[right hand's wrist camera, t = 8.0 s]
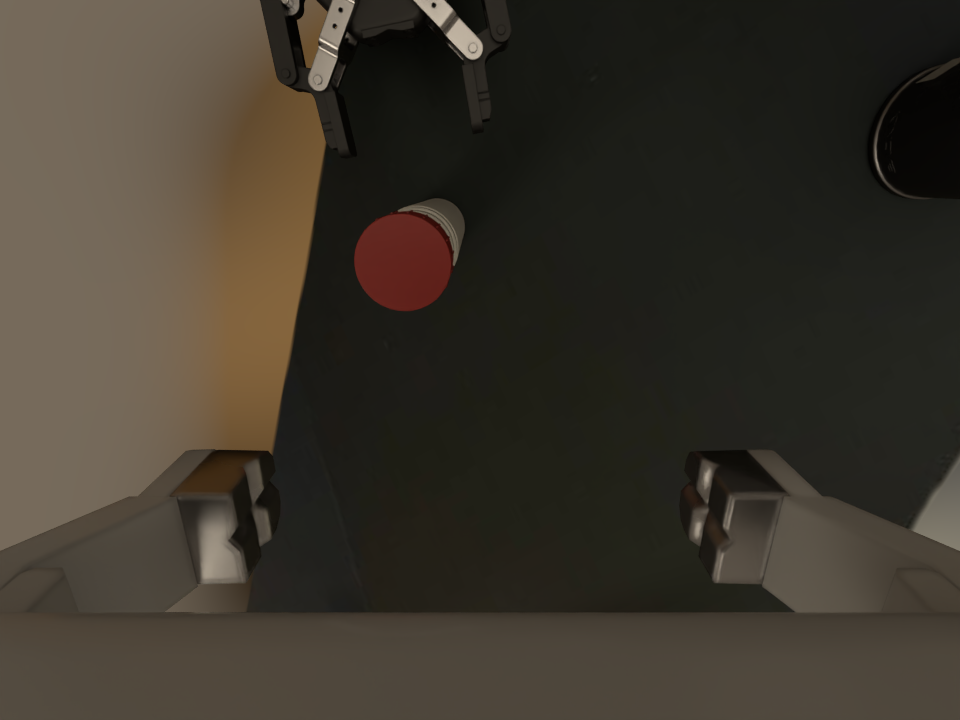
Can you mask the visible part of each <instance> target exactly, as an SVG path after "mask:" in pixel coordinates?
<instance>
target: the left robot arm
mask: <svg viewBox="0 0 960 720" xmlns="http://www.w3.org/2000/svg"><path fill="white" fill-rule="evenodd" d="M317 1H318V2H319V3H320V4H321V5H322V7H323V8H324V9H325V10H326V11H327V12H328V13H327V16H326V19H325V22H324V25H323V27H322V30H321V33H320V36H319V42H318V43H319V47H318V50H317V53H316V56H315V59H314V62H313V64H312V67H311V69H310V68H306V65H305V60H304V55H303V50H302V45H301V40H300V35H299V30H298V25H297V20H298V19H300V18H301V17H302V16H303V14H304V2H305V0H260V2H261V7H262V11H263V16H264V20H265V25H266V30H267V34H268V39H269V43H270V48H271V52H272V57H273V62H274V66H275V71H276V75H277V78H278V80H279V81H280V82H281V83H282V84H284V85H286V86H288V87H290V88H292V89H294V90H296V91H298V92H307V93H311V94H312V95H313V96H314V98H315V101H316V105H317V109H318V112H319V117H320V120H321V124H322V128H323V131H324V136H325V140H326V142H327V144H328V145H329V147H330V148H331V149H333V150H338V152H339V155H340V157H342V158H351V157H356V156H357V152H356V147H355V143H354V139H353V135H352V131H351V127H350V122H349V118H348V114H347V110H346V106H345V101H344V97H343V96H342V95H340V94H339V93H338V90H339V87H340V85H341V82H342V80H343V77H344V74H345V72H346V69H347V67H348V65H350V63H351V62H352V60H353V57H354V55H355V52H356V49H357V47H358V44H359V42H360V43H363V44H368V45H369V46H370V47H372V46H377V45H382V44H384V43H386V42H387V41H389V40H391V39H393V38H397V39H411V38H416V37H418V34H419V33H420V32H422V31H423V30H424V29H425V28H426V26H427V27H428V28H429V29H430V30H431V31H432V32H433V33H434V34H435V35H436V36H437V37H438V38H439V39H440V40H441V41H442V42H443V43H444V44H445V45H447V46H448V47H449V48H450V49H451V50H452V51H453V52H454V53H455V54H456V55H457V56H458V57H459V58H460V59H461V60H462V61H463V62H464V65H462V72H463V78H464V84H465V90H466V96H467V102H468V108H469V114H470V119H471V125H472V131H473V134H477V133H482V132H483V123H482V122H486V121H489V120H490V114H491V102H490V96H489V90H488V83H487V77H486V71H485V64H486V62H487V60H488V59H489V58H490V57H492V56H493V55H495V54H496V53H498V52H502V51H504V50H505V49H506V48H507V47H508V44H509V38H510V35H511V24H510V19H509V14H508V9H507V4H506V0H481V2H482V6H483V11H484V16H485V21H486V26H487V28H486V29H485V30H483V31H482V32H480V33H479V34H477V35H475V34H474V33H473V32H472V31H471V30H470V29H469V28H468V27H467V26H466V25H465V24H464V22H463V21H462V20H461V19H460V18H459V17H458V15H457V14H456V12H455V11H454V10H453V9H452V7H451V6H450V5H449V4H448V3H447V2H446V1H445V0H317ZM336 26H337V28H335V27H336ZM347 40H349V41H348V42H347ZM869 161H870V165H871V168H872V171H873V173H874V176H875V177H876V179H877V180H878V182H879V183H880V184H881V185H882V186H883V187H884V188H885V189H886V190H887V191H889V192H891V193H892V194H894V195H897V196H900V197H903V198H908V199H930V198H947V199H960V58H957V59H953V60H951V61H950V62H948V63H946V64H942V65H938V66H934V67H931V68H928V69H925V70H923V71H921V72H919V73H917V74H915V75H913V76H912V77H910V78H909V79H907V80H906V81H905V82H903V83H902V84H901V85H900V86H899V87H898V88H897V89H896V90H895V91H894V92H893V93H892V94H891V95H890V96H889V97H888V99H887V100H886V101H885V103H884V104H883V106H882V107H881V109H880V111H879V113H878V115H877V117H876V119H875V121H874V124H873V127H872V130H871V134H870V139H869Z"/></svg>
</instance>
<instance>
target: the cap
mask: <svg viewBox="0 0 960 720" xmlns="http://www.w3.org/2000/svg"><path fill="white" fill-rule="evenodd" d="M375 220H376V221H375V222H373V223H372V224H371V225H369V226H368V227H367V228H366V229H365V230H364V232H363V233H362V235H361V236H360V238H359V241H358V243H357V246H356V249H355V256H354V263H355V270H356V275H357V277H358V280H359V282H360V284H361V286H362V287H363V289H364V290H365V292H366V293H367V294H368V295H369V296H370V297H371V298H372V299H373V300H375V301H376V302H377V303H379V304H381V305H383V306H384V307H387V308H390V309H393V310H398V311H412V310H417V309H420V308H423V307H425V306H427V305H429V304H431V303H432V302H433V301H435V300H436V299H438V297H439V296H440V295H441V293H442V292H443V291H444V289H445V287H446V288H447V286H448V282H449V278H450V274H451V273H452V272H453V268H454V265H453V254H454V250H453V249H452V245H451V242H450V239H449V238H450V236H448V235H447V234H446V232H445V230H444V229H443V228H442V227H441V226H440V225H441V224H440V223H439V224H438V223H437V222H436V221H435V220H433V219H432V218H430V217H428V215H427V214H426V215H424V214H422V213H418V212H413V210H410V211H401V212H398V211H395V212H392V213H390V215H387V216H383V217H380V218H377V219H375Z"/></svg>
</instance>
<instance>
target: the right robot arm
mask: <svg viewBox="0 0 960 720" xmlns="http://www.w3.org/2000/svg"><path fill="white" fill-rule="evenodd" d="M275 471H276V470H275V465H274V460H273V456H272V455H271V454H270V453H269V451H248V450H215V449H211V450H189V451H185V452H184V453H183V454H182V455H181V456H180V457H179V458H178V459H177V460H176V461H175V462H174V463H173V464H172V465H171V466H170V467H169V468H168V469H166V470H165V471H164V472H163V473H162V474H161V475H160V476H159V477H158V478H157V479H156V480H155V481H154V482H153V483H152V484H150V485H149V486H148V487H147V488H146V489H145V490H144V491H143V492H142V493H141V494H140V495H139V496H138V497H127V498H125V499H122V500H120V501H118V502H115V503H113V504H110V505H108V506H106V507H103V508H101V509H99V510H96V511H94V512H92V513H89V514H87V515H84V516H82V517H80V518H77V519H75V520H73V521H70V522H68V523H66V524H63V525H61V526H58V527H56V528H54V529H51V530H49V531H47V532H44V533H42V534H39V535H37V536H35V537H32V538H30V539H28V540H25V541H23V542H21V543H18V544H16V545H13V546H11V547H9V548H6V549H4V550H2V551H0V720H960V551H958V550H956V549H953V548H951V547H949V546H946V545H944V544H942V543H939V542H937V541H934V540H932V539H930V538H927V537H925V536H923V535H920V534H918V533H916V532H913V531H911V530H909V529H906V528H904V527H901V526H899V525H897V524H894V523H892V522H890V521H887V520H885V519H883V518H880V517H878V516H876V515H873V514H871V513H868V512H866V511H864V510H861V509H859V508H857V507H854V506H852V505H850V504H847V503H845V502H842V501H840V500H838V499H835V498H833V497H822V496H821V495H820V494H819V493H818V492H817V491H816V490H815V489H814V488H813V487H812V486H811V485H810V484H809V483H807V482H806V481H805V480H804V479H803V478H802V477H801V476H800V475H799V474H798V473H797V472H796V471H795V470H794V469H793V468H792V467H791V466H789V465H788V464H787V463H786V462H785V461H784V460H783V459H782V458H781V457H780V456H779V455H778V454H777V453H776V452H774V451H771V450H768V449H762V450H726V451H694V452H690V453H689V455H688V457H687V459H686V465H685V470H684V471H685V473H686V474H687V476H688V477H689V479H690V480H691V481H690V482H689V483H688V484H687V485H686V486H685V487H684V488H683V489H682V490H681V497H680V505H679V507H680V517H681V522H682V525H683V528H684V531H685V533H686V535H687V536H688V538H689V540H691V541H693V542H694V543H696V544H697V545H699V546H700V551H699V558H700V559H701V561H702V563H703V565H704V566H705V568H706V570H707V572H708V573H709V575H710V577H711V579H712V580H713V582H714V583H740V584H763V585H762V587H764V588H765V589H766V590H768V591H769V592H770V593H772V594H773V595H774V596H776V597H777V598H778V599H779V600H781V601H782V602H783V603H785V604H786V605H787V606H789V607H790V608H791V609H793V610H794V611H795V612H165V611H166V610H168V609H169V608H170V607H172V606H173V605H174V604H175V603H177V602H178V601H179V600H181V599H182V598H183V597H185V596H186V595H187V594H188V593H190V592H191V591H192V590H194V589H195V588H196V587H197V586H198V585H197V584H219V583H246V582H247V580H248V579H249V577H250V575H251V573H252V572H253V570H254V568H255V566H256V565H257V563H258V561H259V559H260V558H261V551H260V546H261V545H263V544H264V543H266V542H267V541H269V540H271V538H272V536H273V534H274V533H275V531H276V529H277V525H278V521H279V517H280V496H279V490H278V489H277V488H276V487H275V486H274V485H273V484H272V483H271V482H270V481H269V480H270V479H271V477H272V476H273V474H274V473H275Z"/></svg>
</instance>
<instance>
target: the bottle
mask: <svg viewBox="0 0 960 720" xmlns="http://www.w3.org/2000/svg"><path fill="white" fill-rule="evenodd" d="M410 210H413V212H418V213H422V214H424V215H426V214H427V215H428V217H430V218H432V219H433V220H435V221H436V222H437V223H438V224H439V223H440V224H441V225H440V226H441V227H442V228H443V229H444V230H445V232H446V234H447V235H448V236H450V238H449V239H450V242H451V245H452V249H453V250H454V254H453V265H455V263H456V261H457V257H458V254H459V250H460V246H461V243H462V239H463V236H464V231H465V223H464V219H463V216H462V214H461V212H460V210H459V209H458V208H457V207H456V206H455V205H454V204H453V203H451V202H449V201H447V200H444V199H439V198H435V199H430V200H427V201H423V202H420V203H417V204H414V205H411V206H407V207H404V208H402V209H400V210H398V212H401V211H410Z"/></svg>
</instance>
